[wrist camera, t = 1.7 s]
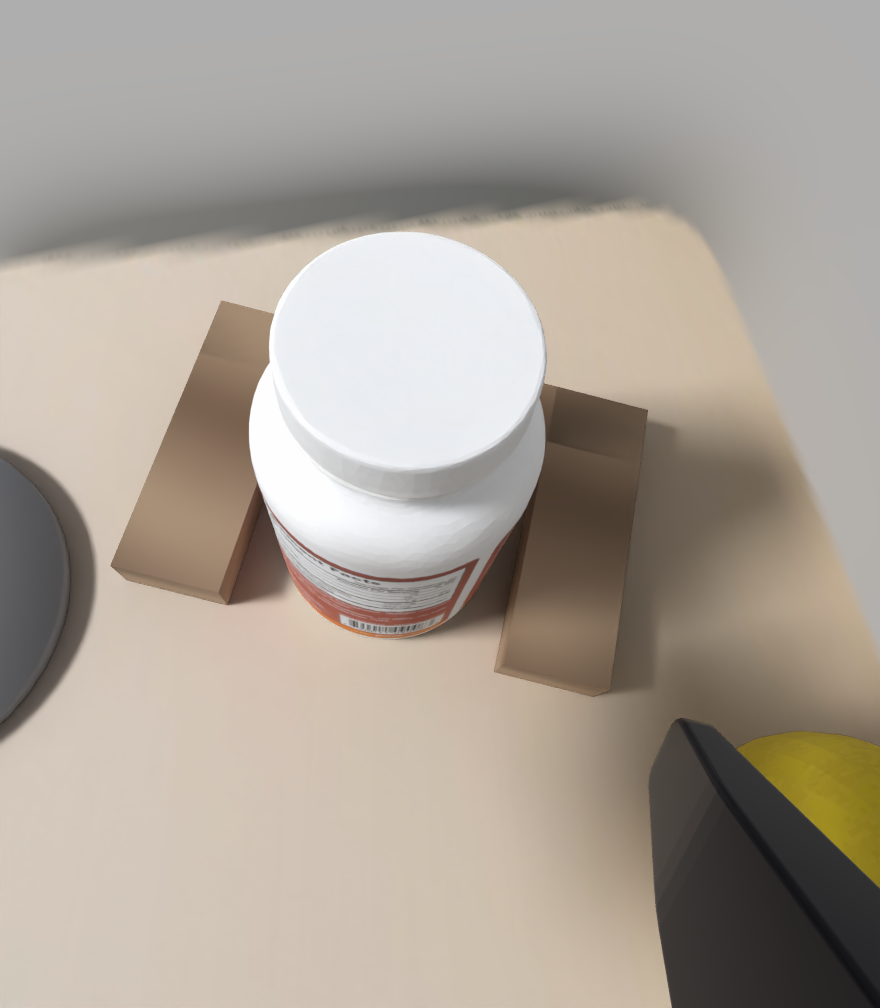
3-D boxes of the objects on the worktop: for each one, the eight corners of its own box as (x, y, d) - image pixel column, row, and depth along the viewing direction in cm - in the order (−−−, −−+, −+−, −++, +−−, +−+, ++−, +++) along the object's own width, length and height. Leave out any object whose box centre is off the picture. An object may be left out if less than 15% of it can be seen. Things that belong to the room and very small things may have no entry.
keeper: (593, 696, 21) (609, 690, 20) (126, 580, 21) (110, 565, 20) (631, 431, 25) (647, 410, 23) (229, 328, 24) (221, 300, 23)
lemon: (696, 997, 19) (917, 1136, 11) (606, 782, 20) (748, 782, 13) (867, 908, 20) (1167, 981, 13) (769, 712, 22) (984, 675, 14)
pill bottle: (401, 417, 24) (435, 141, 14) (526, 558, 23) (668, 370, 12) (242, 528, 22) (143, 303, 12) (369, 688, 21) (382, 594, 10)
